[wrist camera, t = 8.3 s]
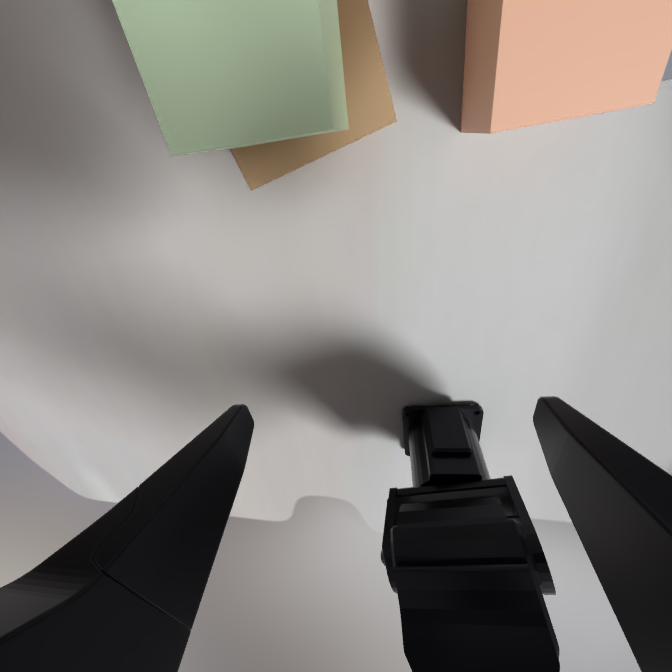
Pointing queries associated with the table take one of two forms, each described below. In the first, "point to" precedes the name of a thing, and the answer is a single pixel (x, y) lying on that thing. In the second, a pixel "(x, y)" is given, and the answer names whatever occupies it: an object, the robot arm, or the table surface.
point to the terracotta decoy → (560, 59)
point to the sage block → (238, 69)
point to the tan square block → (361, 98)
